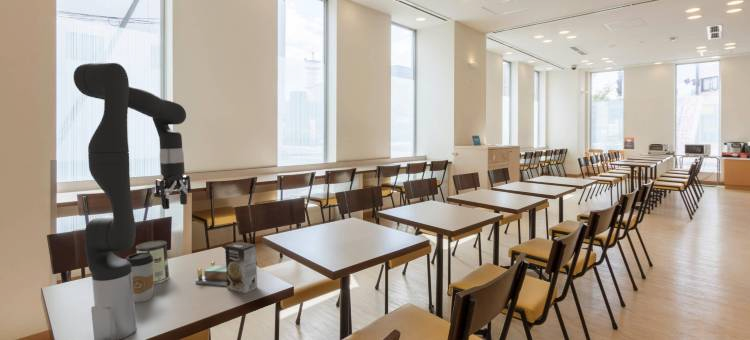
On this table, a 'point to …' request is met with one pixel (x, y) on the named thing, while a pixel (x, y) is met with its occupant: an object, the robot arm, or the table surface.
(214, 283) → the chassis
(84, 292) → the table surface
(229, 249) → the coffee box
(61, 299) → the table surface
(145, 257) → the coffee cup
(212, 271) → the mint green block
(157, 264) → the coffee can
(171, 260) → the table surface
